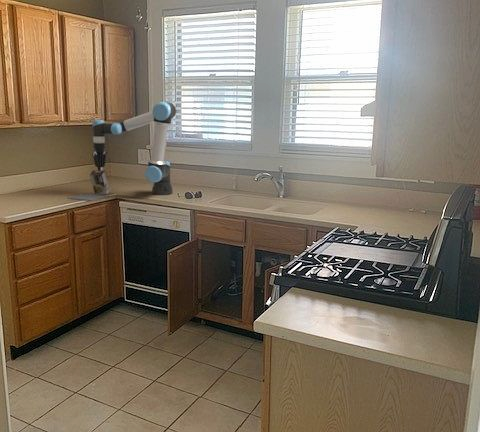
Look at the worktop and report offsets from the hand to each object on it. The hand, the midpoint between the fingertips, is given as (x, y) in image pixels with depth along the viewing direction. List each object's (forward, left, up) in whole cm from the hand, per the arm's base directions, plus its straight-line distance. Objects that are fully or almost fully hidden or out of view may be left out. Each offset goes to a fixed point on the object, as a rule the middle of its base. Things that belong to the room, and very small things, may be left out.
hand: (100, 176), depth 334 cm
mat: (0, +14, -13) cm, 19 cm away
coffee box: (0, -1, -12) cm, 12 cm away
